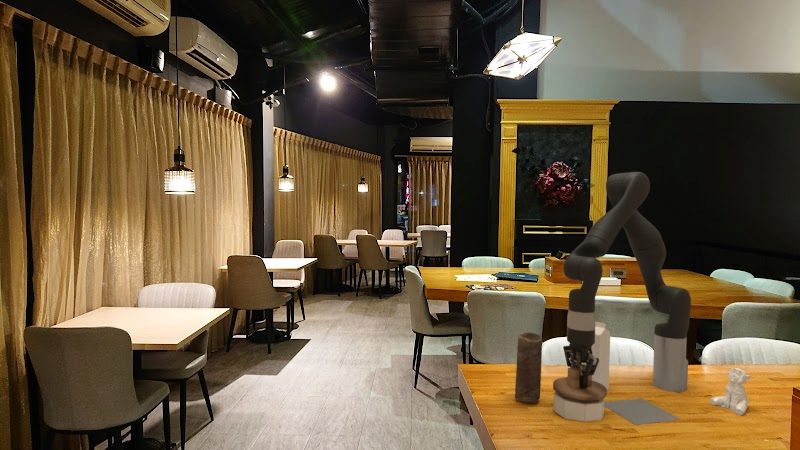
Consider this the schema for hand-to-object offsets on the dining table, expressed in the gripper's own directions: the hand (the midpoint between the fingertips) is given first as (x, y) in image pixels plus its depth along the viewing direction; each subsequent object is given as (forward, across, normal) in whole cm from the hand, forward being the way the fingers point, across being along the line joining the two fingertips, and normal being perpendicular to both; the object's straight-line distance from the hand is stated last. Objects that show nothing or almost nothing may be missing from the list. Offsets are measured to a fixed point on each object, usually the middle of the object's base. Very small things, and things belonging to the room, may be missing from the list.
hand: (579, 385), depth 139 cm
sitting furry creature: (+8, -8, -47) cm, 48 cm away
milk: (+8, +14, -16) cm, 23 cm away
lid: (+1, 0, 0) cm, 1 cm away
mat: (+8, -4, -17) cm, 19 cm away
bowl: (+8, 0, 0) cm, 8 cm away
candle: (+8, +11, +10) cm, 17 cm away
